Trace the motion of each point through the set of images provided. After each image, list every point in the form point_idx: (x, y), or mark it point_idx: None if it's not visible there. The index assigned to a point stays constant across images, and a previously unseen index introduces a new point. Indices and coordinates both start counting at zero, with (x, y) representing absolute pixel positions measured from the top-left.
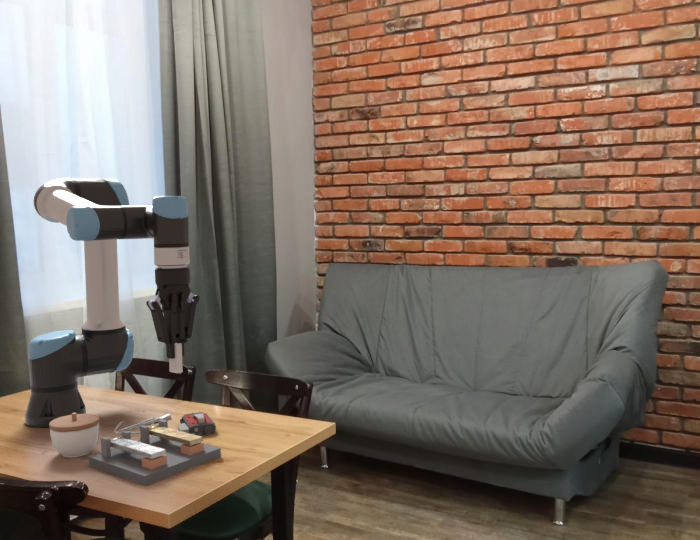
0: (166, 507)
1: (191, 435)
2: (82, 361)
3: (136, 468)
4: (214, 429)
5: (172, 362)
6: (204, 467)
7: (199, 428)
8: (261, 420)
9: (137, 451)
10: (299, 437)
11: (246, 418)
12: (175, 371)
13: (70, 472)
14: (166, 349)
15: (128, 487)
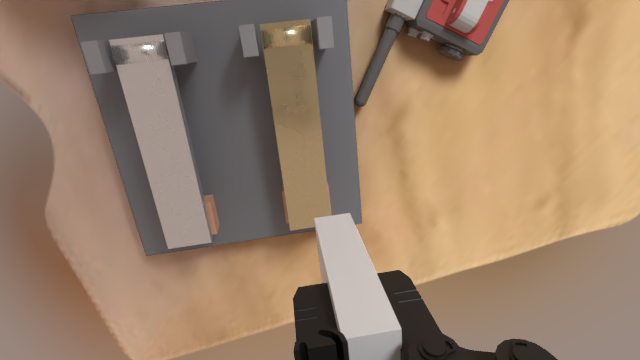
0: (143, 348)
1: (319, 193)
2: None
3: (149, 203)
4: (469, 54)
5: (324, 274)
6: (296, 240)
7: (437, 37)
8: (610, 57)
9: (153, 194)
10: (539, 232)
11: (610, 3)
12: (320, 266)
13: (24, 28)
14: (296, 333)
15: (121, 228)
